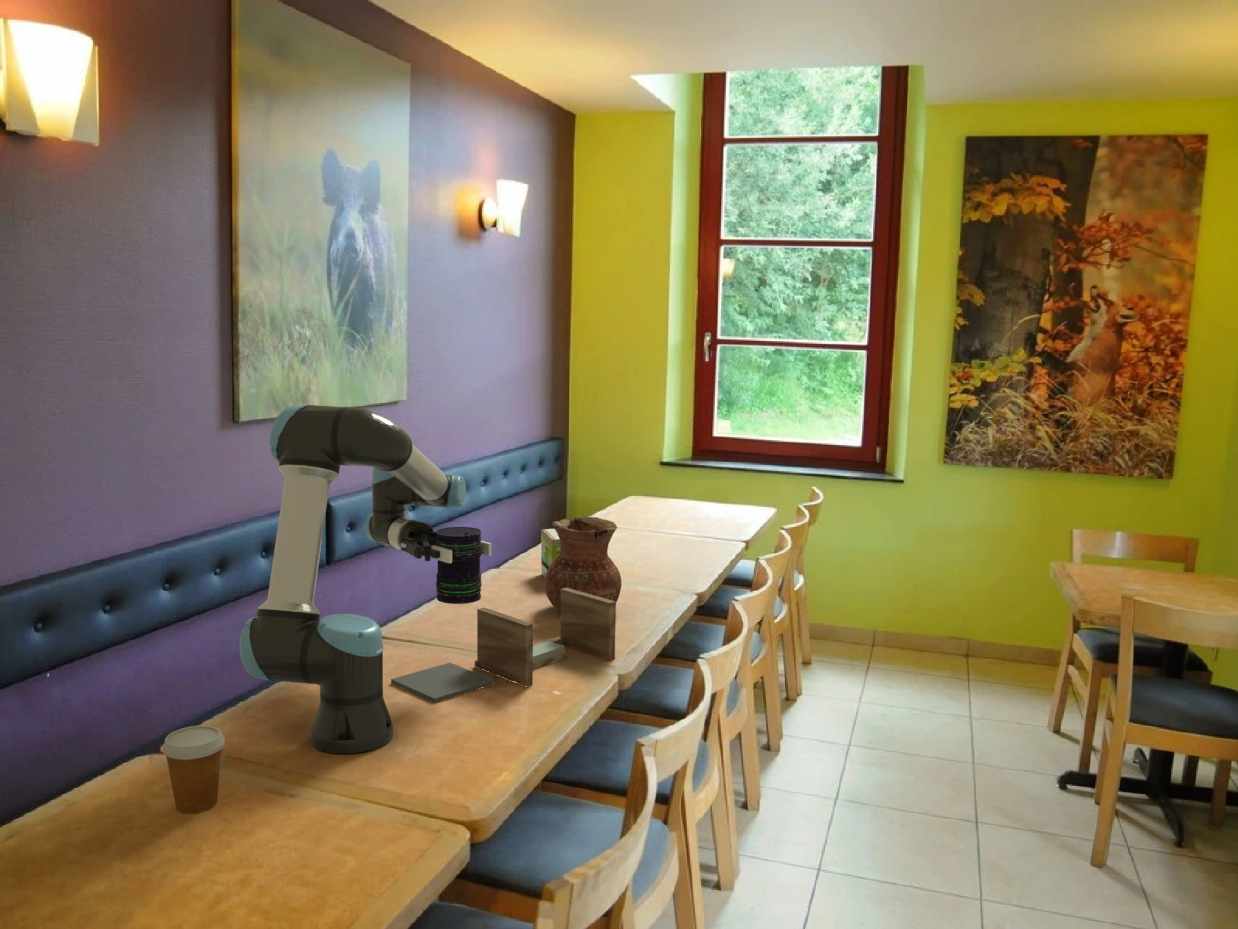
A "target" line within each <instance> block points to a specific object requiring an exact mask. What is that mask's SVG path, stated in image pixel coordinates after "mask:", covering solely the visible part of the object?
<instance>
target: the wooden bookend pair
mask: <svg viewBox="0 0 1238 929" xmlns="http://www.w3.org/2000/svg"><path fill="white" fill-rule="evenodd" d="M616 607H617V602H615V601H612V600H608V599H605V598H601V597H598V596H594V595H591V594H587V593H584V592H580V591H577V590H573V589H570V588H563V589H561V612H560V624H559V625H560V634H559V636H556V637H552V638H549V639H546V640H542V641H539V642H535V643H534V623H532V622H528V621H525V620H523V619H520V618H518V617H517V618H516V617H514V616H511V615H507V614H505V613H501V612H499V611H497V610H496V611H495V610H493V609H490V608H486V607H481V608H477V609H476V610H477V611H476V614H477V616H476V617H477V619H476V622H477V624H476V625H477V626H476V628H477V629H476V630H477V631H476V632H477V633H476V634H477V636H476V639H477V640H476V641H477V644H476V645H477V647H476V649H477V652H476V653H477V654H476V656H477V658H476V659H475V660H474V667H475V666H476V667H478V668H477V669H479V668H480V669H479V670H481V669H484V670H486V671H489V672H490V673H489V672H488V673H489V674H491V673H493V674H492V675H494V674H495V675H494V676H496V675H499V676H501V677H504V678H506V679H508V680H507V681H509V680H511V681H515V682H517V683H519V684H521V685H523V686H522V687H524V686H528V687H530V686H529V685H531V686H533V685H534V684H533V683H534V681H533V679H534V675H533V672H534V671H533V670H534V669H533V646H535V645H538V644H541V643H544V642H547V641H550V642H554V643H557V644H560V645H563V646H565V647H568V648H571V649H574V650H578V651H580V652H583V653H586V654H588V655H592V656H595V657H597V656H599V657H598V658H600V657H601V658H600V659H604V660H606V661H612V660H614V659H616V622H617V620H616V618H617V616H616V615H617V614H616V613H617V608H616ZM476 667H475V668H476ZM484 670H483V671H484ZM486 671H485V672H486ZM499 676H498V677H499ZM501 677H500V678H501ZM504 678H503V679H504ZM506 679H505V680H506ZM511 681H510V682H511ZM519 684H518V685H519ZM532 684H533V685H532ZM521 685H520V686H521Z"/></svg>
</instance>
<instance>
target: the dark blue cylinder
mask: <svg viewBox="0 0 1238 929" xmlns="http://www.w3.org/2000/svg"><path fill="white" fill-rule="evenodd" d="M435 532H436V535H437V538H436V546H439V547H442V548H445V549H449V550H452V563H446V562H443V561H440V560H437V573H436V581H435V587H436V592H437V593H436V594H437V595H436V600H437V601H438V602H441V603H443V604H449V605H464V604H465V605H466V604H473V603H475V602H479V601H480V600H481V599H482V594H481V592H482V584H483V583H482V573H481V557H482V554H481V553H482V552H481V546H482V543H481V541H482V536H481V535H482V530H481V529H480V528H475V527H470V526H451V527H443V528H439V529H437V530H436V531H435Z"/></svg>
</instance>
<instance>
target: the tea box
mask: <svg viewBox="0 0 1238 929" xmlns="http://www.w3.org/2000/svg"><path fill="white" fill-rule="evenodd" d="M540 530H541V531H540V532H541V533H540V538H541V539H540V540H541V542H540V544H541V545H540V548H541V549H540V550H541V552H540V553H541V556H540V557H541V558H540V560H541V564H540V566H541V575H542V576H543V577H544V578H545V575H546V573H547V570H548V568H549V566H550V565H551V564H552V562H553V561H554V560H555V559H556V558H557V557H558V556H559V555H560V553H561V544H560V539H559V536H558V534H557V532H556V530H555V528H548V529H547V528H544V529H543V528H542V529H540Z"/></svg>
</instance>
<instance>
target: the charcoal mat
mask: <svg viewBox="0 0 1238 929" xmlns="http://www.w3.org/2000/svg"><path fill="white" fill-rule="evenodd" d="M390 684H391V685H394V686H396V687H398V688H400V687H401V689H402V688H403V689H402V690H405V691H407V692H409V693H411V694H413V693H414V695H416V696H418V697H420V698H423V699H424V700H427V701H428V702H431V703H434V704H436V703H440V702H442V700H443V701H445V700H444V699H446V700H449V699H452V698H456V697H458V695H459V696H462V695H465V694H468V693H471V691H472V692H475V691H477V690H476V689H478V690H480V689H479V688H481V687H485V688H487V686H488V687H491V686H493V685H492V684H494V685H495V680H494V679H492V678H490V677H487V676H485V675H482V674H480V673H477V672H475V671H473V670H470V669H468V668H464V667H462V666H459V665H458V664H455V663H452V662H447V663H444V664H443V663H442V664H440V665H437V666H432V667H429V668H426V669H421V670H418V671H415V672H412V673H408V674H404V675H401V676H396V677H393V678H390ZM490 685H491V686H490ZM474 690H475V691H474ZM464 693H465V694H464ZM461 694H462V695H461ZM455 696H456V697H455Z"/></svg>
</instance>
